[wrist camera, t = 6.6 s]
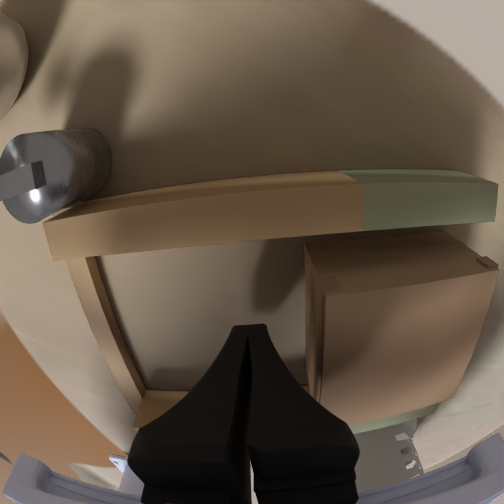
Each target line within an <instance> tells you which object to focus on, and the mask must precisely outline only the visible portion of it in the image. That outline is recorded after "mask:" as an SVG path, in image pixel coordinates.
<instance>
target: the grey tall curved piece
mask: <svg viewBox="0 0 504 504" xmlns="http://www.w3.org/2000/svg"><path fill="white" fill-rule="evenodd" d="M416 429H417V418H416V419H413V420H410V421H406V422H403V423H399V424H395V425H391V426H387V427H383V428H379V429H375V430H370V431H366V432H361V433H356V434H354V436H355V438H356V441H357V443H358V445H359V449H360V456H359V459H358V461H357V463H356V466H355V468H354V469H355V473H356V480H355V483H356V488H357V493H359V492H364V491H368V490H372V489H376V488H380V487H384V486H387V485H391V484H394V483H398V482H401V481H404V480H407V479H409V478H411V477H413V476H416V475H418V474H420V475H422V474H424V472H423V469H422V466H421V463H420V461H419V458H418V454H417V451H416V449H415V447H414V445H413V441H412V437H413V435H414V433H415V431H416ZM415 452H416V453H415ZM415 454H417V456H416V455H415ZM412 460H415V461H416V463H415V465H414V467H413V468H410V469H408V470H407V469H406V465H408V464H410V463H411V462H412ZM420 466H421V469H422V470H421V469H420V468H419V467H420Z"/></svg>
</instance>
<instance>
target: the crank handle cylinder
mask: <svg viewBox="0 0 504 504" xmlns="http://www.w3.org/2000/svg"><path fill="white" fill-rule="evenodd" d="M111 165H112V157H111V151H110V148H109V145H108V143H107V141H106V140H105V138H104V137H103V136H102V135H101V134H100V133H99V132H97V131H95V130H93V129H89V128H79V129H65V130H53V131H43V132H34V133H26V134H21V135H18V136H16V137H15V138H13V139H12V140H11V141H10V142H9V143H8V144H7V146H6V147H5V149H4V151H3V153H2V156H1V158H0V201H3V203H4V205H5V207H6V209H7V210H8V211H9V213H10V214H11V215H12V216H13V217H14V218H15V219H17V220H18V221H20V222H23V223H27V224H32V223H36V222H39V221H40V220H42V219H44V218H46V217H48V216H50V215H51V214H53V213H55V212H57V211H59V210H61V209H63V208H65V207H67V206H69V205H71V204H73V203H75V202H77V201H79V200H81V199H83V198H85V197H87V196H89V195H91V194H94V193H96V192H97V191H99V190H100V189H101V188H102V187H103V186H104V184H105V183H106V181H107V179H108V177H109V174H110V171H111Z"/></svg>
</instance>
